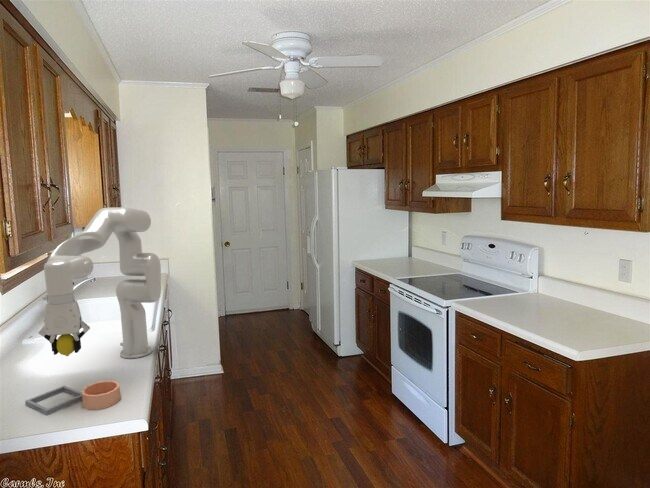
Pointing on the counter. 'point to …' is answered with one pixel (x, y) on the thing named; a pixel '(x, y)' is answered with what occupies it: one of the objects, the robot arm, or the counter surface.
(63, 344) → the lemon
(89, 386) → the bowl
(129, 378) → the counter surface
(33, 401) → the gray square frame
